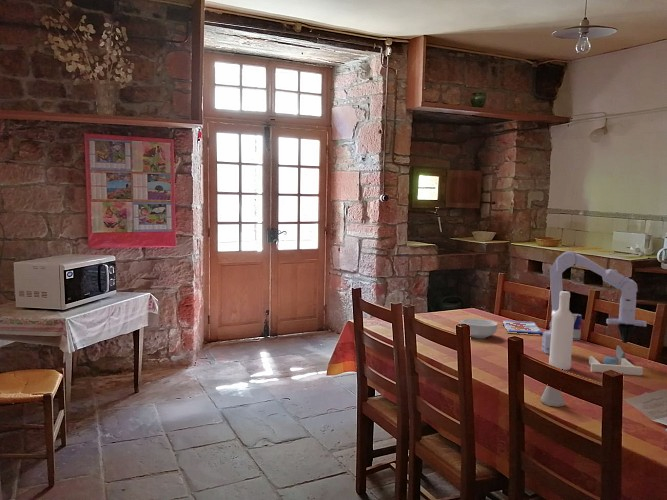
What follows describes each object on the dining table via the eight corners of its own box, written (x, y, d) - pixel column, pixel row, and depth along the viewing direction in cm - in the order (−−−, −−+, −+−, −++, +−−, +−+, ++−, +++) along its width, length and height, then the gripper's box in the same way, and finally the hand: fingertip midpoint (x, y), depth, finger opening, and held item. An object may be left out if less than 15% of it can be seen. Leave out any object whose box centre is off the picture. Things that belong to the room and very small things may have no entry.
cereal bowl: (500, 335, 256) (501, 321, 255) (491, 343, 242) (491, 327, 241) (466, 330, 265) (467, 316, 264) (455, 337, 251) (455, 322, 250)
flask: (536, 399, 173) (538, 369, 172) (557, 398, 174) (559, 369, 173) (547, 407, 166) (549, 376, 165) (569, 407, 167) (571, 376, 166)
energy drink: (581, 341, 249) (583, 316, 248) (569, 340, 250) (571, 315, 249) (578, 338, 255) (580, 313, 254) (566, 337, 256) (568, 313, 255)
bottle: (573, 367, 208) (579, 292, 206) (566, 371, 203) (571, 294, 200) (553, 362, 214) (558, 289, 211) (545, 366, 208) (550, 291, 206)
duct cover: (615, 355, 226) (616, 345, 226) (618, 355, 226) (619, 345, 225) (620, 364, 213) (621, 353, 213) (624, 364, 213) (625, 353, 213)
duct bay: (591, 371, 204) (592, 363, 204) (582, 362, 215) (583, 355, 215) (642, 375, 201) (642, 367, 201) (630, 366, 212) (630, 358, 212)
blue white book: (535, 326, 280) (535, 321, 280) (543, 337, 257) (544, 331, 257) (501, 323, 283) (501, 318, 283) (506, 334, 260) (506, 329, 260)
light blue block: (605, 369, 207) (606, 359, 207) (601, 365, 212) (602, 356, 212) (619, 370, 206) (620, 360, 206) (614, 366, 211) (615, 357, 211)
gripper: (611, 310, 212) (608, 343, 214) (650, 312, 210) (647, 346, 211) (605, 306, 219) (603, 339, 220) (643, 309, 217) (641, 341, 218)
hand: (624, 342), depth 216 cm, fingers closed
